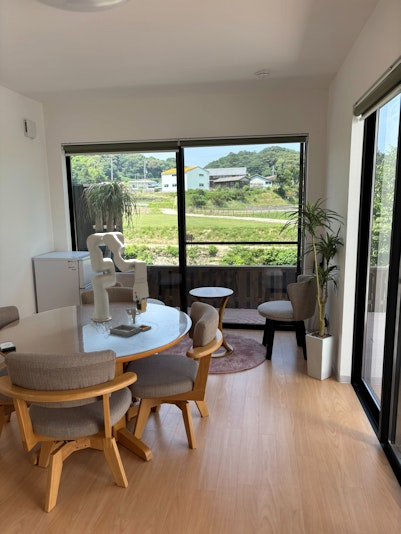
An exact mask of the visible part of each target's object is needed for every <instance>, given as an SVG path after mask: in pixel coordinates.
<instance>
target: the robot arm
mask: <svg viewBox="0 0 401 534" xmlns="http://www.w3.org/2000/svg"><path fill="white" fill-rule="evenodd" d="M124 242H125V236H124V234H123V233H122V232H119V231H111V232H103V233H102V232H101V233H100V232H99V233H93V234H90V235H89V236H88V237H87V238H86V247H87V250H88V253H89V260H90V265H91V270H92V272H93V273H95V274H97V275H95V276H93V277H92V278H91V286H92V289H93V302H94V312H93V313H92V314H91V315H92V316H94V317H93V318H92V320H93V322H97V323H98V322H99V323H101V322H103V323H104V322H109V321H111V320H112V316H111V315H110V307H109V306H110V304H109V293H108V291H107V290H106V288H111V287H114V286H115V285H116V283H117V276H116V268H115V266H116V267H117V268H118V270H119V271H121V272H122V273H129V272H134V283H133V288H132V300H133V302H135V303H136V310H137V309H138V310H141V304H140V302H141V299H146V303H147V300H148V299H149V297H150V294H149V285H148V277H147V276H148V275H147V274H148V273H147V266H148V265H147V262H146V261H145V260H140V259H137V258H132V259H126V260H125V259H124V258H123V257H122V255H123V254H124V252H125V251H126V247H125V245H124V244H123V243H124ZM100 246H101V247H103V246H104V247H105V246H107V248H108V249H109V250H110V252H112V253H113V259H111V258H109V257H104V256H103V252H102V249H101V248H100ZM99 273H100V274H99ZM101 273H102V274H101ZM138 300H139V301H138Z"/></svg>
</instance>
